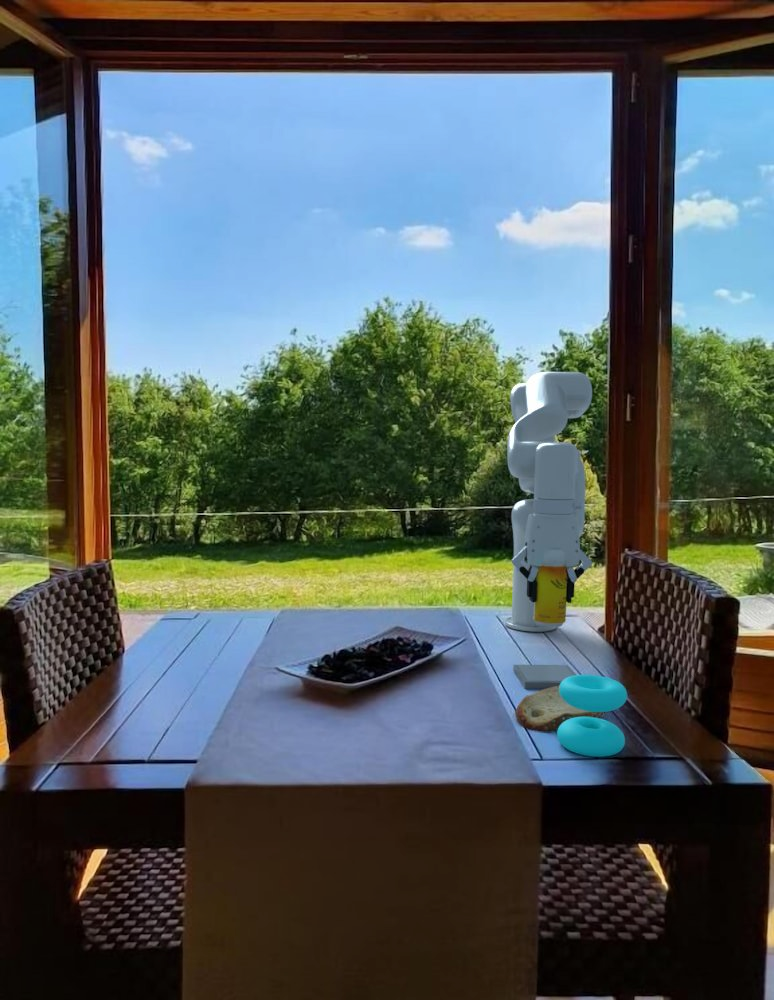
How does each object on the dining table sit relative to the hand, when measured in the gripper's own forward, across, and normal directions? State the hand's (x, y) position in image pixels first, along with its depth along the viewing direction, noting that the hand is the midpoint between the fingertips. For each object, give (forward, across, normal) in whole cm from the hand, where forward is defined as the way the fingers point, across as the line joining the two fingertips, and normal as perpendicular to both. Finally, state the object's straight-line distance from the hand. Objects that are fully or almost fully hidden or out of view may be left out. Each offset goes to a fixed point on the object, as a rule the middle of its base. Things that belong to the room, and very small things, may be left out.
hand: (550, 600), depth 147 cm
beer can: (+5, 0, 0) cm, 5 cm away
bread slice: (+16, +2, +17) cm, 24 cm away
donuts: (+16, +1, +32) cm, 36 cm away
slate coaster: (+16, 0, 0) cm, 16 cm away
